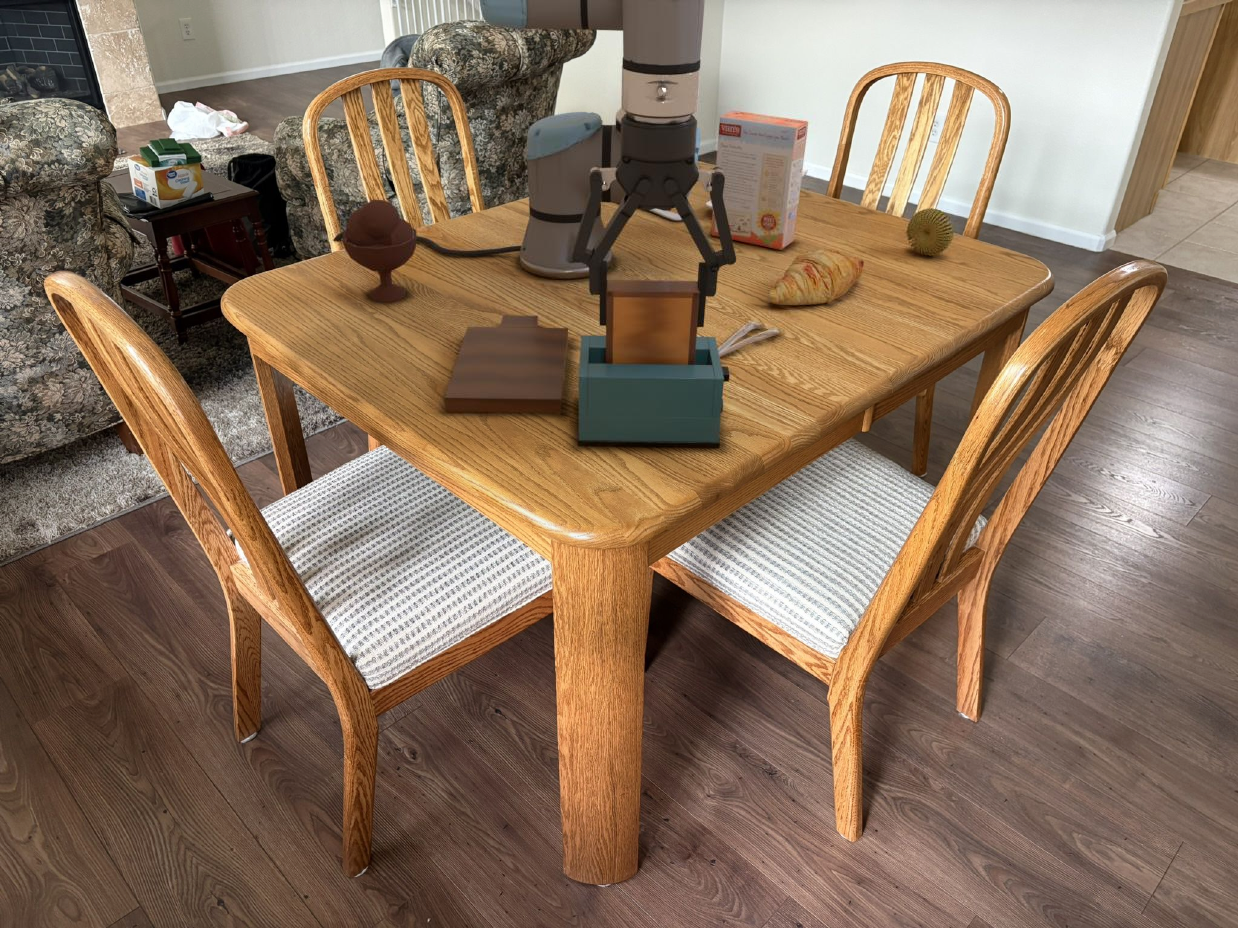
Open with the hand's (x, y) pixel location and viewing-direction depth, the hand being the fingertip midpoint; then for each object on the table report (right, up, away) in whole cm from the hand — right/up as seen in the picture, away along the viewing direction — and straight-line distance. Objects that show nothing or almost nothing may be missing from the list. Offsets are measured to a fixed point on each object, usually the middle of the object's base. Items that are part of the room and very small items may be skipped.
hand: (651, 321), depth 101 cm
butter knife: (0, +34, +76) cm, 83 cm away
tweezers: (+12, -1, +24) cm, 27 cm away
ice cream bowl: (-39, +10, +38) cm, 55 cm away
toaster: (0, -11, +7) cm, 13 cm away
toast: (0, -5, +3) cm, 6 cm away
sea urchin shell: (+50, +20, +56) cm, 78 cm away
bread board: (-18, -3, +19) cm, 26 cm away
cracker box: (+20, +24, +61) cm, 69 cm away
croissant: (+27, +11, +41) cm, 51 cm away
